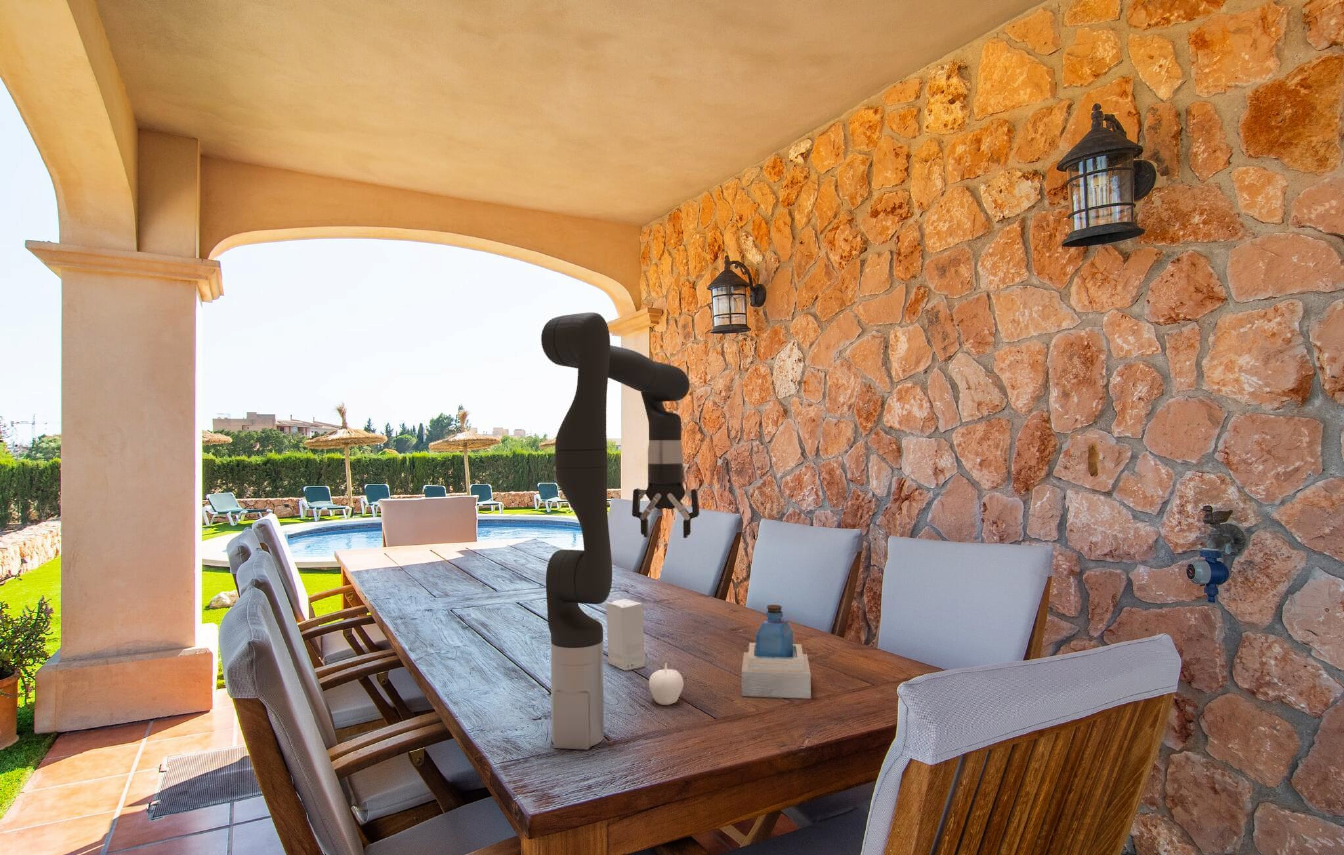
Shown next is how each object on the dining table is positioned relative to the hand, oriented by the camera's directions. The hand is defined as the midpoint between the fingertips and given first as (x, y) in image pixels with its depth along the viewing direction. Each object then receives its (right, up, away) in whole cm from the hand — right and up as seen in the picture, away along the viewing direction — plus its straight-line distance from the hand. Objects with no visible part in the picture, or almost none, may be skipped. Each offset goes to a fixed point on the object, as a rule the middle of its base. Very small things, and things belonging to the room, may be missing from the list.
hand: (665, 537), depth 155 cm
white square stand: (+24, -32, 0) cm, 40 cm away
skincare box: (-10, -33, +16) cm, 38 cm away
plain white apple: (0, -32, -9) cm, 33 cm away
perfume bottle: (+23, -27, 0) cm, 36 cm away
